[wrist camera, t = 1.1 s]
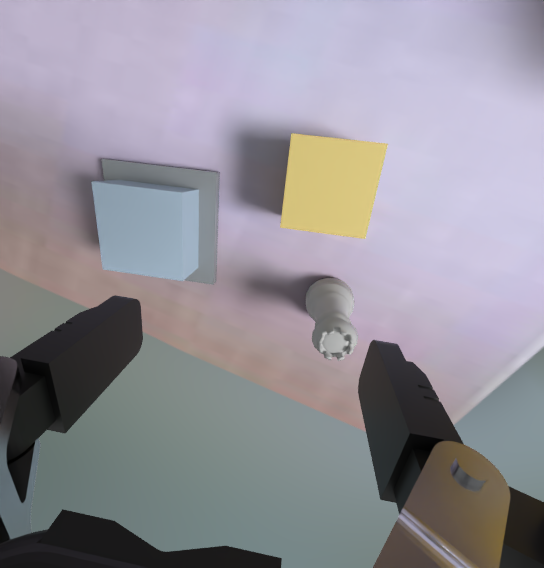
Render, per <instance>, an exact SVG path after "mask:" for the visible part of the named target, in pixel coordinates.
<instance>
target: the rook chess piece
mask: <svg viewBox="0 0 544 568" xmlns="http://www.w3.org/2000/svg"><path fill="white" fill-rule="evenodd" d="M305 303H306V308H307V311H308V313H309V315H310V317H311V318H312V319H313V320H314V321H315V322H316V323H315V329H314V331H313V333H312V342H313V344H314V347H315V348H316V349H317V350H318V351H319V352H320V353H322V354H324V358H327V359H329V360H331V358H332V357H337V359H338V361H339V360H343V359H344V355H346V354H349V355H351V353H352V352H353V350H354V347H355V346H356V344H357V340H358V334H357V332H356V329H355V328H354V326H353V325H352V324H351V322H350V319H349V317H350V315H351V313H352V312H353V308H354V297H353V294H352V291H351V288H350V287H349V286H348V285H347V284H346V283H345V282H343V281H341V280H339V279H336V278H324V279H321V280H318V281H316V282H315V283H314V284H313V285H311V286H310V287H309V289H308V291H307V293H306V300H305Z"/></svg>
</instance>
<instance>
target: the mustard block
mask: <svg viewBox="0 0 544 568" xmlns="http://www.w3.org/2000/svg"><path fill="white" fill-rule="evenodd" d="M387 145H388V144H385V143H375V142H366V141H357V140H348V139H339V138H329V137H320V136H311V135H302V134H293V133H291V141H290V149H289V158H288V166H287V175H286V183H285V191H284V200H283V208H282V217H281V225H280V228H287V229H295V230H302V231H310V232H317V233H325V234H332V235H340V236H347V237H355V238H362V239H365V238H366V234H367V229H368V225H369V221H370V217H371V212H372V208H373V204H374V200H375V196H376V191H377V187H378V183H379V179H380V175H381V170H382V166H383V162H384V158H385V154H386V149H387Z"/></svg>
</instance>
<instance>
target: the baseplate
mask: <svg viewBox="0 0 544 568" xmlns="http://www.w3.org/2000/svg"><path fill="white" fill-rule="evenodd" d="M101 160H102V169H103V177H104V181H91V182H92V190H93V198H94V205H95V213H96V221H97V228H98V236H99V244H100V252H101V259H102V267H103V269H104V270H111V271H118V272H125V273H131V274H138V275H145V276H152V277H158V278H165V279H172V280H179V281H184V280H186V281H192V282H199V283H206V284H213V285H214V283H215V282H216V268H217V237H218V206H219V174H220V172H212V171H204V170H195V169H187V168H178V167H170V166H161V165H153V164H144V163H136V162H127V161H119V160H110V159H101Z"/></svg>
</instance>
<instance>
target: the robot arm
mask: <svg viewBox="0 0 544 568" xmlns="http://www.w3.org/2000/svg"><path fill="white" fill-rule="evenodd" d="M142 340H143V335H142V319H141V306H140V302H139V301H138V300H137V299H133V298H127V297H121V296H112V297H111V298H109V299H108V300H106V301H105V302H103V303H102V304H100V305H99V306H97V307H94V308H91V309H89V310H86V311H83V312H81V313H79V314H77V315H75V316H74V317H72V318H71V319H69V320H68V321H66V323H65V324H64V323H63V324H62V325H60V326H58V327H57V328H55V330H54V331H51V332H49V333H48V334H46V335H44V336H43V337H41V338H40V339H38V340H37V341H35V342H33V343H32V344H30V345H29V346H27V347H26V348H24V349H23V350H21V351H20V352H18V353H17V354H15V355H14V356H12V357H10V358H9V357H3V356H0V568H281V558H278V557H273V556H269V555H264V554H260V553H256V552H251V551H247V550H242V549H238V548H233V547H229V546H219V547H210V548H200V549H191V550H182V551H171V552H163V551H160V550H158V549H156V548H154V547H153V546H151V545H150V544H148V543H147V542H145V541H144V540H142V539H141V538H139V537H138V536H136V535H134V534H133V533H132V532H130V531H129V530H127V529H126V528H124V527H123V526H121V525H120V524H118V523H117V522H115V521H112V520H108V519H103V518H99V517H94V516H90V515H85V514H80V513H76V512H72V511H67V510H62V511H61V513H60V514H59V515H58V517H57V518H56V519H55V521H54V522H53V523H52V525H51V526H50V528H49V529H48V530H43V531H38V532H34V533H32V530H31V507H32V500H33V493H34V487H35V480H36V473H37V466H38V459H39V452H40V441H39V437H40V436H41V435H42V434H43V433H44V432H45V431H46V430H51V431H56V432H61V433H66V432H67V431H68V430H69V429H70V428H71V426H72V425H73V424H74V423H75V422H76V421H77V420H78V419H79V418H80V417H81V416H82V414H83V413H84V412H85V411H86V410H87V409H88V408H89V407H90V405H91V404H92V403H93V402H94V401H95V400H96V399H97V398H98V397H99V396H100V395H101V394H102V392H103V391H104V390H105V389H106V388H107V387H108V386H109V385H110V384H111V382H112V381H113V380H114V379H115V378H116V377H117V376H118V375H119V374H120V373H121V371H122V370H123V369H124V368H125V367H126V366H127V365H128V364H129V362H131V360H132V359H133V358H134V357H135V356H136V355H137V353H138V352H139V350H140V348H141V345H142ZM358 394H359V400H360V404H361V409H362V414H363V419H364V423H365V428H366V433H367V438H368V442H369V447H370V451H371V456H372V461H373V466H374V471H375V476H376V480H377V485H378V490H379V495H380V499H381V500H385V501H390V502H395V503H397V507H398V511H399V517H398V519H397V521H396V523H395V525H394V527H393V529H392V531H391V533H390V535H389V537H388V539H387V541H386V543H385V545H384V547H383V549H382V551H381V553H380V555H379V557H378V558H377V560H376V563H375V565H374V566H373V568H544V502H542V501H539V500H537V499H535V498H533V497H531V496H529V495H526V494H524V493H522V492H520V491H518V490H515V489H513V488H511V487H509V486H508V485H507V483H506V481H505V479H504V477H503V476H502V475H501V473H500V472H499V470H498V469H497V468H496V467H495V466H494V465H493V464H492V463H491V462H490V461H489V460H488V459H486V458H485V457H484V456H483V455H481V454H480V453H478V452H477V451H475V450H474V449H472V448H470V447H468V446H466V445H464V444H463V442H462V440H461V438H460V436H459V435H458V433H457V431H456V430H455V427H454V425H453V424H452V422H451V420H450V418H449V416H448V415H447V413H446V411H445V409H444V407H443V405H442V404H441V402H439V398H438V396H437V395H436V393H435V391H434V390H433V387H432V385H431V384H430V382H429V380H428V378H427V376H426V374H424V373H423V372H422V371H421V370H420V369H419V368H418V367H417V366H416V365H415V364H414V363H413V362H408V361H406V360H405V358H404V356H403V354H402V352H401V350H400V348H399V346H398V345H397V344H394V343H389V342H383V341H377V340H373V341H372V342H371V343H370V346H369V349H368V352H367V355H366V358H365V362H364V365H363V368H362V371H361V375H360V378H359V385H358Z"/></svg>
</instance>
